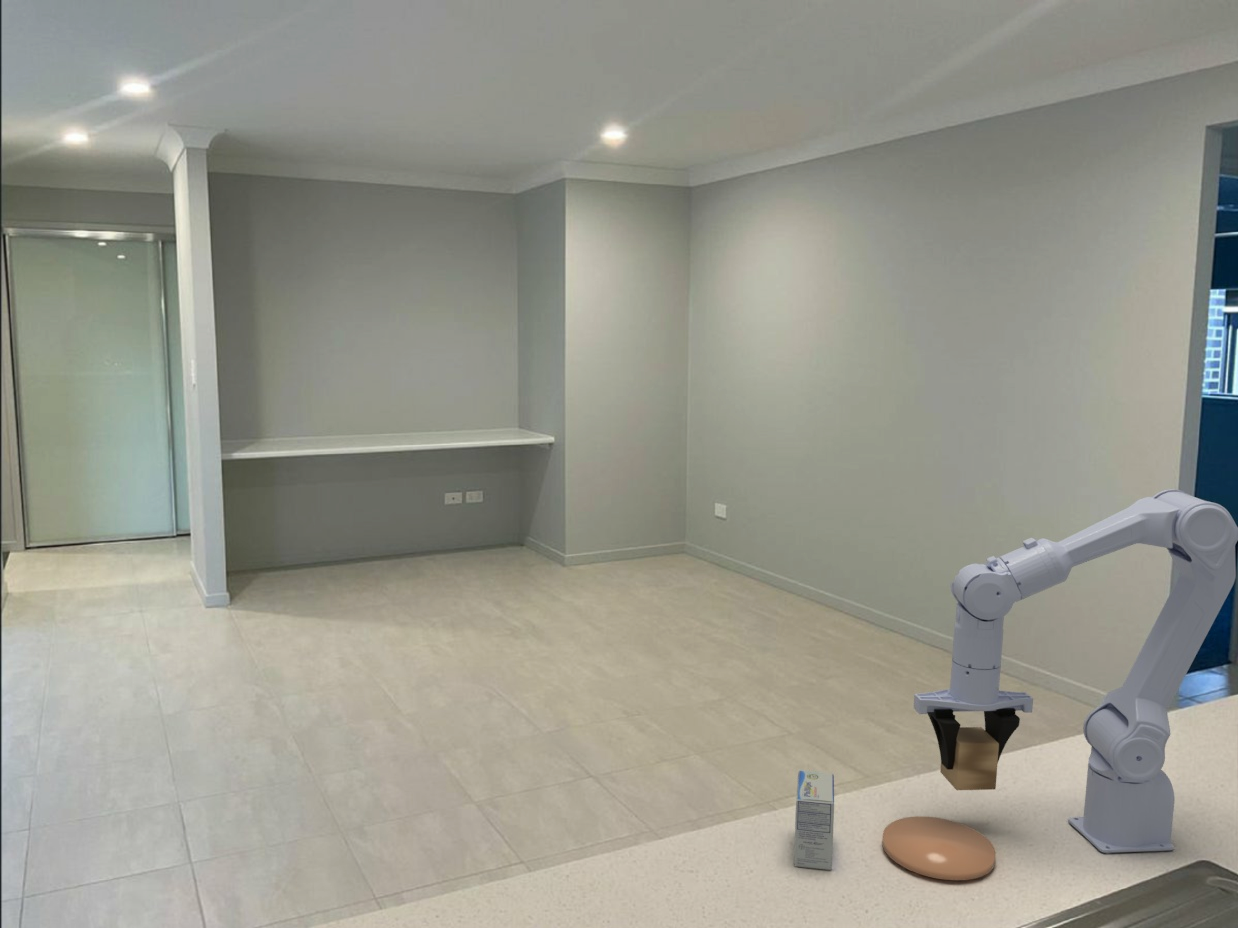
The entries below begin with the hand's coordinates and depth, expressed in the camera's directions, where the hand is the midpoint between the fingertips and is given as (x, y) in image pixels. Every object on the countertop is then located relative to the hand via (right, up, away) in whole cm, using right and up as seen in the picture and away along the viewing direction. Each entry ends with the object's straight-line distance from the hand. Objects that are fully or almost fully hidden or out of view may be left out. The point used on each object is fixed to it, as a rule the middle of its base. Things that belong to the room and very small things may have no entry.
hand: (968, 765), depth 125 cm
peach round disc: (-5, -9, -5) cm, 12 cm away
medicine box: (-21, -9, -5) cm, 23 cm away
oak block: (0, -2, 0) cm, 2 cm away
